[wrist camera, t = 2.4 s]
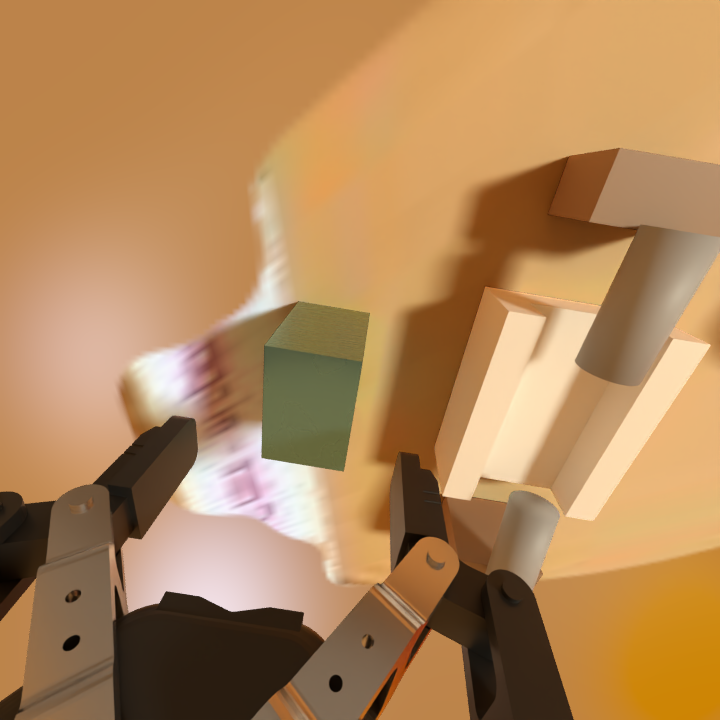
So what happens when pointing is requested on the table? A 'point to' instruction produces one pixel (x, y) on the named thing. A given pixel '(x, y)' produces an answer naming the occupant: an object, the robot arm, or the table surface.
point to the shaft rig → (577, 363)
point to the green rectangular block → (312, 385)
